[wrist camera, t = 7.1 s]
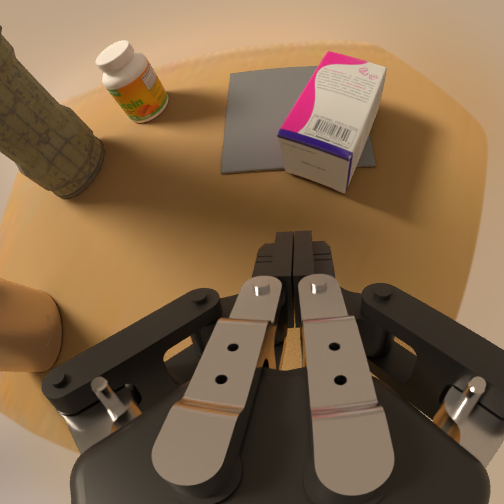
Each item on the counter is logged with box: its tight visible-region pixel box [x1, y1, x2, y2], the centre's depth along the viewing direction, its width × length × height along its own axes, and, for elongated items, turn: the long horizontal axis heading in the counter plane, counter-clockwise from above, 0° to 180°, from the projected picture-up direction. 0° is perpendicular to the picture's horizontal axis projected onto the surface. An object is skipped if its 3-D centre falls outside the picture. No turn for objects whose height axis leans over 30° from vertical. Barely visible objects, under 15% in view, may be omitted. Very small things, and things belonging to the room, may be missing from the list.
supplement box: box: [277, 51, 387, 193], centre depth 24 cm, size 6×6×12 cm
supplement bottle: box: [96, 40, 168, 123], centre depth 28 cm, size 5×5×10 cm
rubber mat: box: [221, 66, 376, 174], centre depth 28 cm, size 14×14×1 cm
